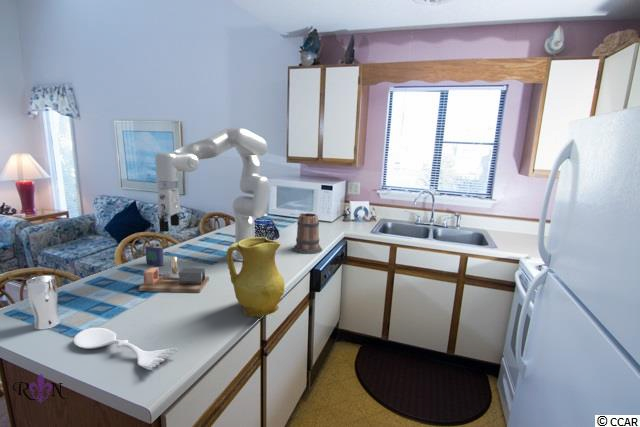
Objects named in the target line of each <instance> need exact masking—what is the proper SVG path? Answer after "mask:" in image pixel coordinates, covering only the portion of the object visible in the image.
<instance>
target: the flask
mask: <svg viewBox="0 0 640 427" xmlns="http://www.w3.org/2000/svg"><path fill="white" fill-rule="evenodd" d="M156 243H157V242H151V243H150V244H145V261H146V265H147V266H153V267H156V266H157V267H163V266H165V262H164V261H165V260H164V247H163V246H157V245H156Z"/></svg>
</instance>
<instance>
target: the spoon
mask: <svg viewBox="0 0 640 427" xmlns="http://www.w3.org/2000/svg"><path fill="white" fill-rule="evenodd" d="M72 340H73V344H74V345H75V346H76V347H79V348H81V349H88V350H89V349H97V348H102V347H105V346H106V347H107V346H109V345H116V347H117V348H127V349H129V350H131V351H132V352H133V353H134V354H135V355H136V358H137V365H139V367H141V368H144V369H146V370H149V371H152V370H153V368H156V367H157V366H159V365H160V363H162V362H165V359H168V358H170V356H172V355H174V353H175V352H178V351H179V349H178V348H177V347H171V348H166V349H156V350H151V351H150V350H149V351H147V350H144V349H141V348H139V347H138V346H136V345H134V344H133V343H130V342H129V340H128V339H123V340H121V339H117V333H116V332H115V331H113V330H111V329H109V328H103V327H90V328H86V329H84V330H81V331H79V332H78V333H77V334H75V336H74V337H73V339H72Z"/></svg>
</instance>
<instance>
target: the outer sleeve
mask: <svg viewBox="0 0 640 427" xmlns="http://www.w3.org/2000/svg"><path fill="white" fill-rule="evenodd" d="M178 272H179V283H180V285H202V284H203V282H204V281H205V277H206V268H197V267H196V268H195V267H194V268H193V267H190V268H189V267H183V268H182V269H181V270H180V271H178ZM202 273H203V279H202V275H201V274H202Z"/></svg>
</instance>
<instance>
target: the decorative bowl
mask: <svg viewBox="0 0 640 427" xmlns="http://www.w3.org/2000/svg"><path fill="white" fill-rule="evenodd" d="M254 222H255V237H266V238H267V239H268V240H272V241H276V240H277V239H279V238H280V231H279V228H277V226H276V225H275V222H274V221H273V220H272V219H271V217H270V216H268V214H267V213H265V214H264V215H263V216H262V217H260V218H255V219H254ZM263 233H265V235H264V234H263Z"/></svg>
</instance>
